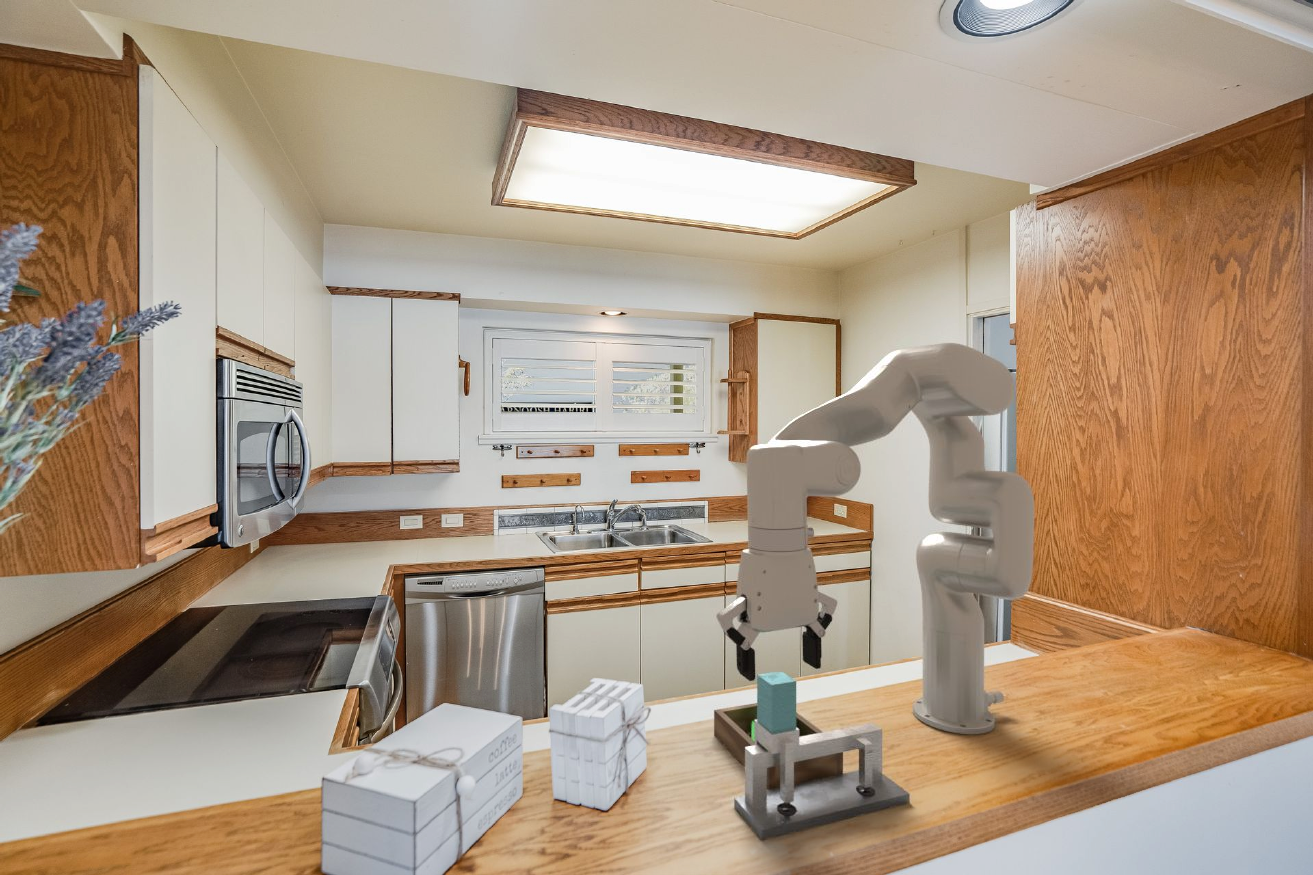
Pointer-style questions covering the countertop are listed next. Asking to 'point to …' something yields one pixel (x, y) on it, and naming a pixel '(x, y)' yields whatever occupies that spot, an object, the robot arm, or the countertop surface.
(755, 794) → the metal bridge frame
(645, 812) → the countertop surface
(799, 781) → the parts tray
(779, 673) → the sliding leg
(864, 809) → the bolt plate
